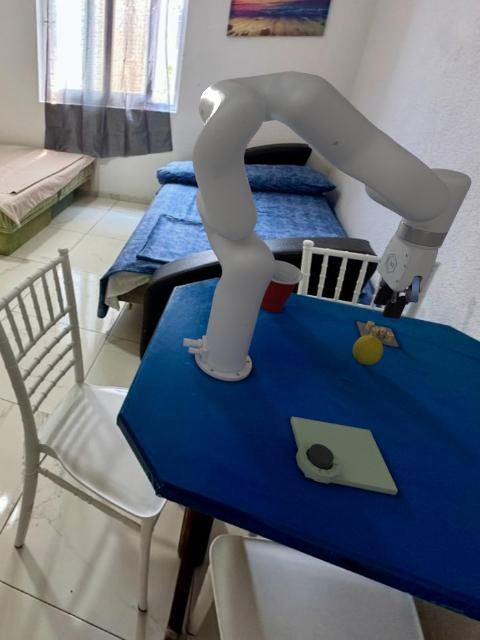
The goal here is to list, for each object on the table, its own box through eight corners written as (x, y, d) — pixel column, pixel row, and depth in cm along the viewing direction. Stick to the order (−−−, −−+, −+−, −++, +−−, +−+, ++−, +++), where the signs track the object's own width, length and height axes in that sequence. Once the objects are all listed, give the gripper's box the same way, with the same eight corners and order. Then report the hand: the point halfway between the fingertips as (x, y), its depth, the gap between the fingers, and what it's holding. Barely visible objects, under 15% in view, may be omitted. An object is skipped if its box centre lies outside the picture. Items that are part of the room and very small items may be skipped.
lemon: (379, 373, 92) (392, 346, 88) (352, 369, 92) (364, 342, 89) (369, 357, 96) (382, 330, 93) (344, 353, 97) (356, 327, 93)
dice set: (391, 342, 101) (394, 336, 100) (368, 337, 103) (371, 331, 102) (386, 330, 106) (389, 324, 105) (364, 326, 107) (367, 320, 106)
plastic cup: (254, 315, 110) (264, 278, 104) (247, 294, 119) (256, 258, 113) (296, 320, 108) (309, 282, 102) (286, 298, 118) (297, 262, 112)
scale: (299, 482, 68) (304, 471, 67) (283, 419, 80) (287, 408, 78) (398, 502, 66) (406, 491, 64) (367, 434, 77) (373, 423, 76)
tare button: (310, 467, 68) (313, 460, 67) (305, 448, 71) (308, 441, 70) (333, 471, 67) (336, 464, 67) (327, 452, 71) (330, 445, 70)
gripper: (381, 215, 86) (353, 288, 95) (420, 250, 72) (382, 332, 81) (420, 219, 85) (388, 292, 94) (467, 256, 71) (424, 338, 79)
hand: (385, 310), depth 87 cm, fingers open, 3 cm apart
